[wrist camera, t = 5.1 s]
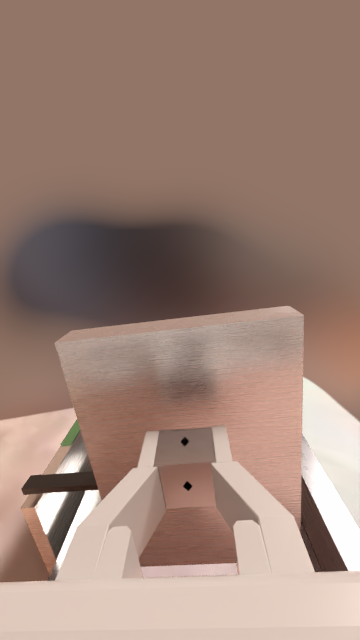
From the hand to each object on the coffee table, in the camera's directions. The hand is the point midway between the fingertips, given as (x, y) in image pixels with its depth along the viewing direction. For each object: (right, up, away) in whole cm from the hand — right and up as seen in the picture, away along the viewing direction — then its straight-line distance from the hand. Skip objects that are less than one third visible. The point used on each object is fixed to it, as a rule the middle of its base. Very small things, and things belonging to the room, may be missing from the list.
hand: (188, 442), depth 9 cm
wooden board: (-1, -9, +5) cm, 11 cm away
